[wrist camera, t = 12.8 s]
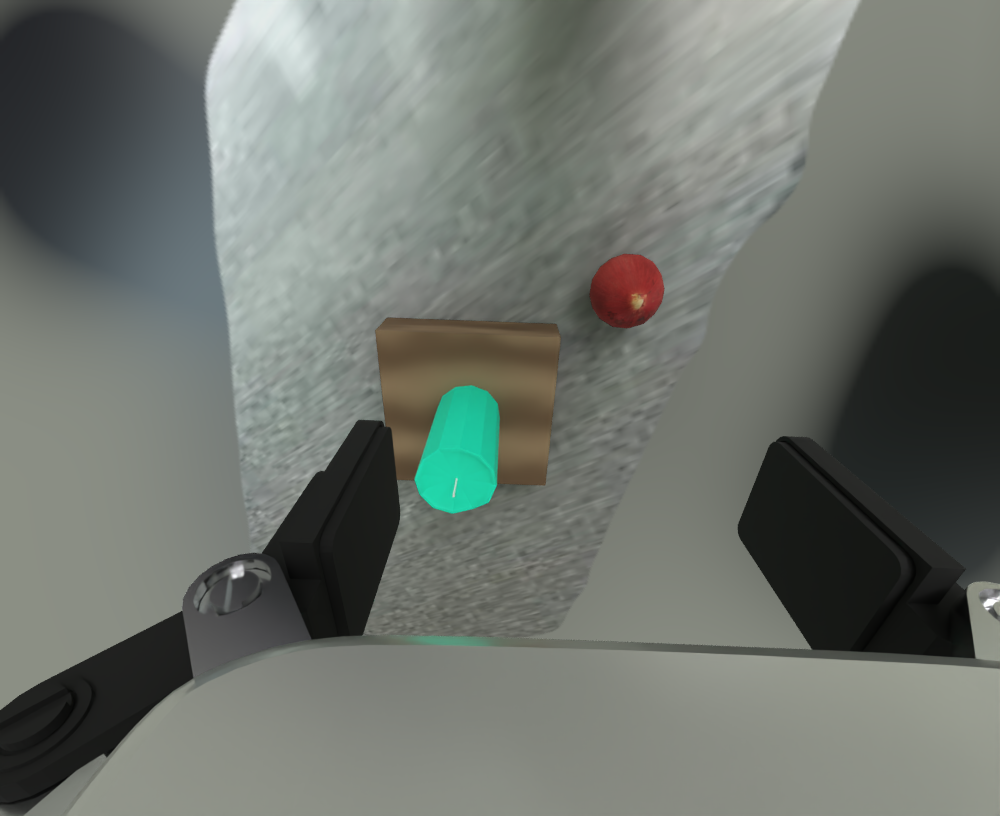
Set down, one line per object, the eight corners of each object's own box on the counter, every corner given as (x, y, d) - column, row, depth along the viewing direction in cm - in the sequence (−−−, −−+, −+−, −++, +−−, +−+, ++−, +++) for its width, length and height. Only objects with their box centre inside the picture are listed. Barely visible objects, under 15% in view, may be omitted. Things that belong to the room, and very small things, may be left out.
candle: (434, 436, 41) (408, 523, 30) (439, 380, 38) (412, 455, 28) (495, 444, 41) (490, 533, 31) (504, 389, 39) (502, 467, 28)
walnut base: (387, 317, 40) (375, 330, 36) (556, 323, 40) (560, 337, 36) (400, 457, 47) (391, 479, 44) (542, 462, 47) (545, 485, 44)
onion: (653, 303, 39) (685, 329, 32) (591, 322, 40) (609, 352, 32) (642, 238, 36) (674, 252, 29) (576, 261, 37) (592, 279, 30)
